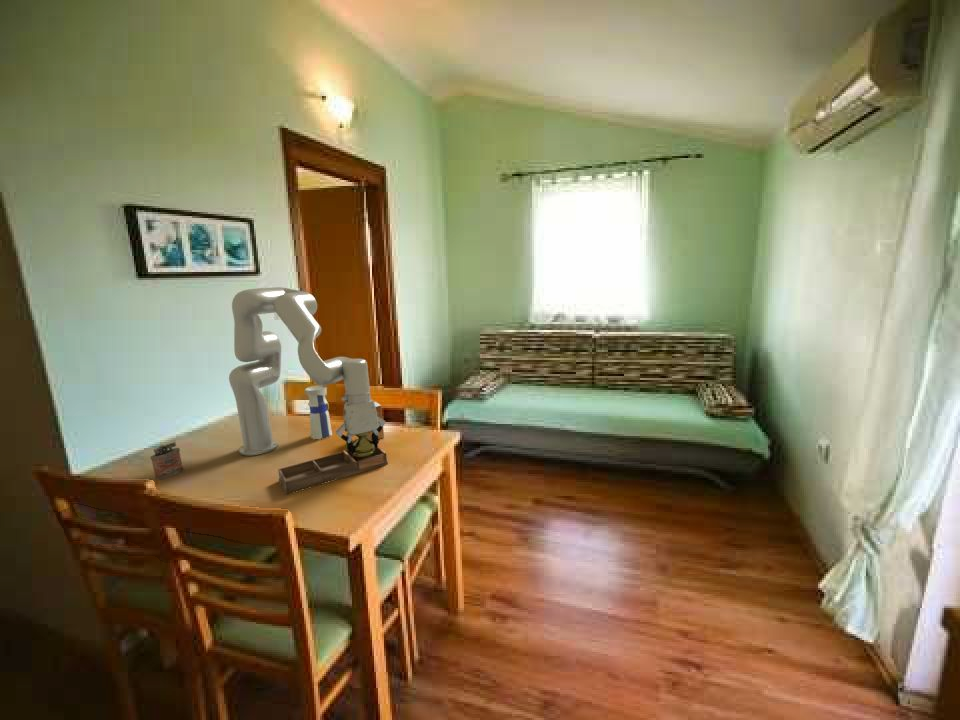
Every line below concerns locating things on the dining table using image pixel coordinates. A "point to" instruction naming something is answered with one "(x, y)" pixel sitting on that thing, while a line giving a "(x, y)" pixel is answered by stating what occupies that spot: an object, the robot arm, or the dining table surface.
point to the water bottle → (318, 412)
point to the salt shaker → (363, 447)
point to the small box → (379, 414)
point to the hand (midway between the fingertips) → (363, 449)
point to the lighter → (166, 461)
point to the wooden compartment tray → (327, 469)
